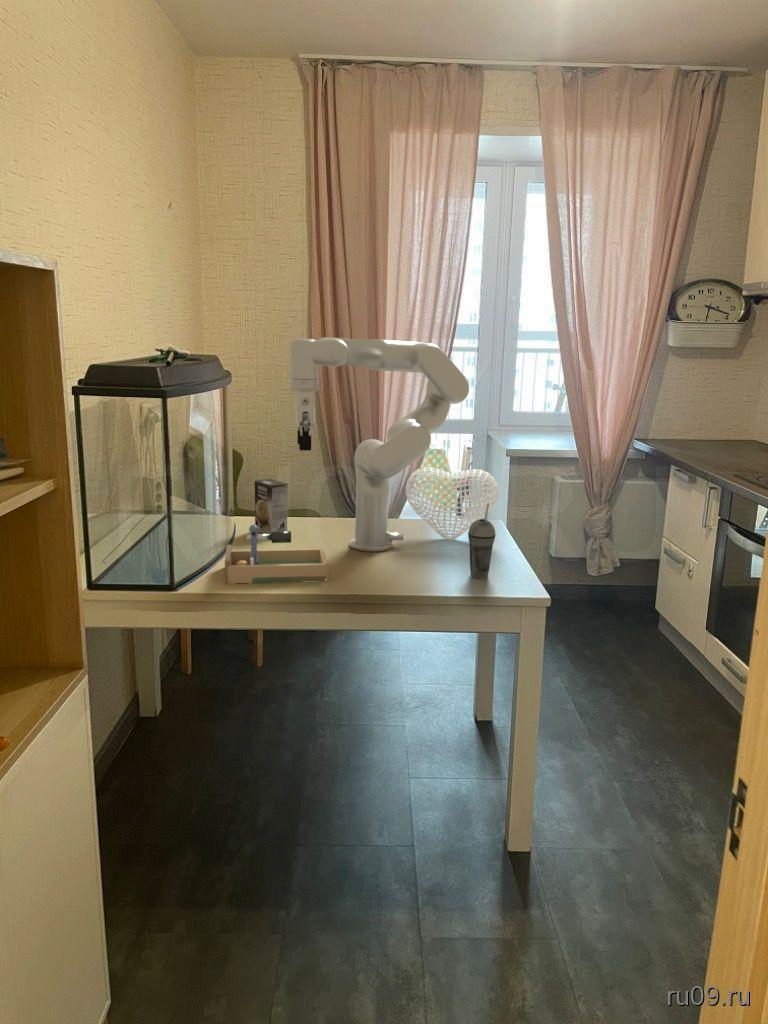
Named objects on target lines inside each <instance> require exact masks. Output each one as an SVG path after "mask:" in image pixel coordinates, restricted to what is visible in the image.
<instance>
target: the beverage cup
mask: <svg viewBox="0 0 768 1024" xmlns="http://www.w3.org/2000/svg"><path fill="white" fill-rule="evenodd" d="M486 505H487V508H486V509H485V510H486V513H484V514H485V517H484V518H483V519H479V520H476V521H475V520H474V521H475V522H473V523H472V525H471V526H470V528H469V529H468V533H467V535H468V542H469V568H470V569H469V570H470V577H471V576H472V577H471V578H473V577H474V578H473V579H476V578H485V579H487V578H488V576H489V572H490V567H491V565H490V564H491V560H492V559H491V558H492V552H493V547H494V546H493V545H494V543H495V539H496V538H495V537H496V536H497V535H496V529H495V527H494V525H493V523H491V521H489V520H488V514H489V513H488V510H489V509H488V508H489V506H490V504H489V503H488V502H487V504H486ZM487 513H488V514H487ZM486 577H487V578H486Z"/></svg>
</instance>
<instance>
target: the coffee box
mask: <svg viewBox="0 0 768 1024" xmlns="http://www.w3.org/2000/svg"><path fill="white" fill-rule="evenodd" d="M288 485H289V484H288V483H285V482H283V481H280V480H276V479H273V478H268V479H267V478H266V479H265V478H264V479H256V480H254V522H255V523H254V525H256V526H258V529H259V530H258V532H257V533H259V534H262V533H263V534H271V531H288V491H289V490H288V487H289V486H288Z"/></svg>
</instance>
